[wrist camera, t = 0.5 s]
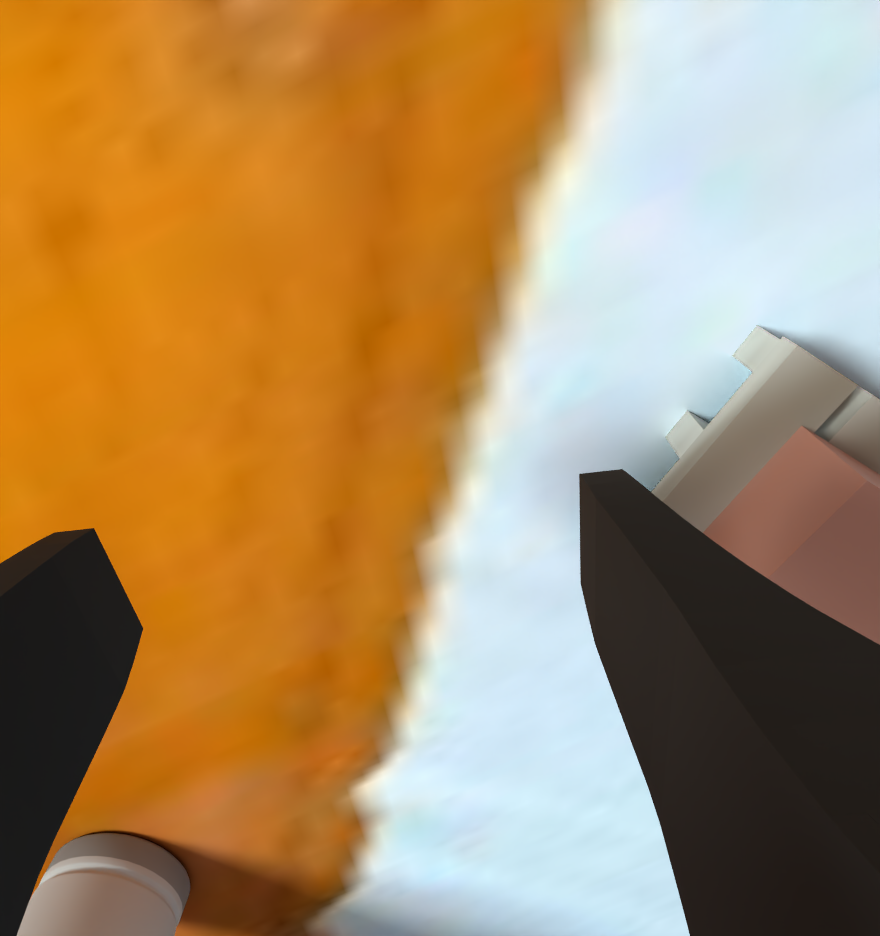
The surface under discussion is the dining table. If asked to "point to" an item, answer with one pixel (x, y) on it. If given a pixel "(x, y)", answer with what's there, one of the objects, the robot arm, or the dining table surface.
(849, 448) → the pallet
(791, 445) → the salmon pink block
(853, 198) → the dining table surface
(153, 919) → the travel mug
